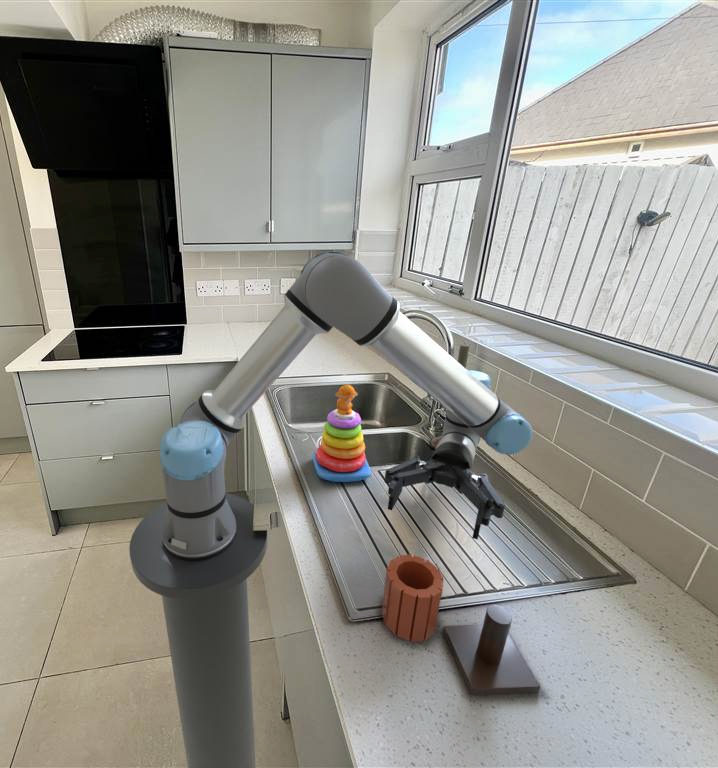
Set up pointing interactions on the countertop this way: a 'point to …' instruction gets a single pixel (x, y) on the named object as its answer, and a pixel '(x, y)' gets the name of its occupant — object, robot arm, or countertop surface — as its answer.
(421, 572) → the ring
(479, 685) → the ring holder
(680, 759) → the countertop surface
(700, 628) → the countertop surface
